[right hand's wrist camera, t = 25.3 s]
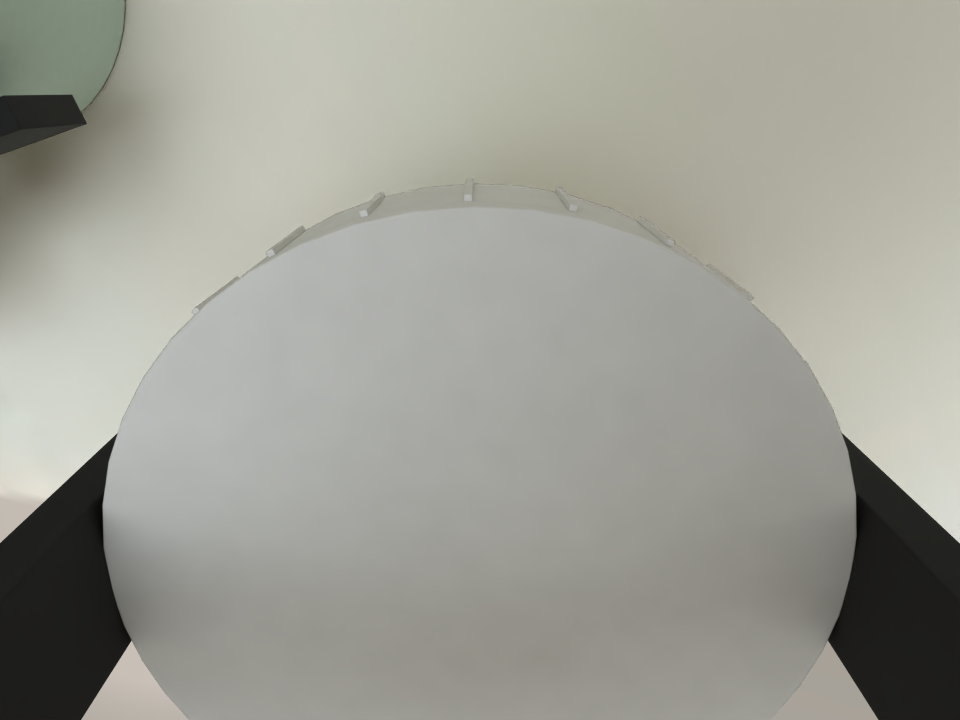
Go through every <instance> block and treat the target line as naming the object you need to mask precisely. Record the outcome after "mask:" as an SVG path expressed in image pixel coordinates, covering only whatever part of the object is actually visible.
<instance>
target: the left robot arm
mask: <svg viewBox="0 0 960 720" xmlns="http://www.w3.org/2000/svg"><path fill="white" fill-rule="evenodd" d="M85 124H87V123H86V121H85V119H84V117H83V115H82V113H81V111H80V109H79V107H78V105H77V103H76V101H75V99H74V97H73V95H3V96H1V97H0V155H1V154H4V153H7V152H10V151H12V150H15V149H18V148H21V147H23V146H26V145H29V144H32V143H35V142H37V141H40V140H43V139H46V138H48V137H51V136H54V135H57V134H60V133H62V132H65V131H68V130H71V129H73V128H76V127H79V126H82V125H85Z"/></svg>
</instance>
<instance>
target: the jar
mask: <svg viewBox="0 0 960 720" xmlns="http://www.w3.org/2000/svg"><path fill="white" fill-rule="evenodd" d="M124 11H125V0H0V97H1V96H3V95H73V97H74V99H75V101H76V103H77V105H78V107H79V109H80V111H81V112H82V111H83V110H84V109H85V108H86V107H87V106H88V105H89V104H90V103H91V102H92V100H93V99H94V98H95V96H96V95H97V94H98V93H99V91H100V90H101V89H102V87H103V85H104V83H105V81H106V80H107V78H108V76H109V74H110V72H111V70H112V68H113V65H114V62H115V59H116V57H117V54H118V51H119V47H120V42H121V37H122V32H123V24H124Z"/></svg>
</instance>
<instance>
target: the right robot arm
mask: <svg viewBox="0 0 960 720" xmlns="http://www.w3.org/2000/svg"><path fill="white" fill-rule="evenodd" d="M117 434H118V433H117ZM117 434H116V435H115V436H114V437H113V438H112V439H111V440H110V441H109V442H108V443H107V444H106V445H104V446H103V447H102V448H101V449H100V450H99V451H98V452H97V453H96V454H95V455H94V456H93V457H92V458H91V459H90V460H88V461H87V462H86V463H85V464H84V465H83V466H82V467H81V468H80V469H79V470H78V471H77V472H76V473H75V474H74V475H72V476H71V477H70V478H69V479H68V480H67V481H66V482H65V483H64V484H63V485H62V486H61V487H60V488H59V489H58V490H56V491H55V492H54V493H53V494H52V495H51V496H50V497H49V498H48V499H47V500H46V501H45V502H44V503H43V504H41V505H40V506H39V507H38V508H37V509H36V510H35V511H34V512H33V513H32V514H31V515H30V516H29V517H28V518H27V519H26V520H24V521H23V522H22V523H21V524H20V525H19V526H18V527H17V528H16V529H15V530H14V531H13V532H12V533H11V534H9V535H8V536H7V537H6V538H5V539H4V540H3V541H2V542H1V543H0V720H81V719H82V717H83V716H84V714H85V713H86V711H87V710H88V708H89V706H90V705H91V703H92V702H93V700H94V699H95V697H96V695H97V694H98V692H99V691H100V689H101V688H102V686H103V684H104V683H105V681H106V680H107V678H108V677H109V675H110V673H111V672H112V670H113V669H114V667H115V666H116V664H117V662H118V661H119V659H120V658H121V656H122V655H123V653H124V651H125V650H126V648H127V647H128V645H129V644H130V642H131V638H130V636H129V634H128V632H127V630H126V628H125V626H124V624H123V621H122V618H121V615H120V612H119V609H118V606H117V603H116V599H115V596H114V592H113V588H112V584H111V580H110V575H109V571H108V566H107V562H106V558H105V552H104V545H103V499H104V492H105V485H106V478H107V471H108V464H109V459H110V456H111V453H112V450H113V447H114V443H115V440H116V437H117ZM842 436H843V439H844V441H845V444H846V447H847V450H848V454H849V459H850V465H851V470H852V476H853V481H854V487H855V492H856V529H857V538H856V545H855V552H854V559H853V563H852V568H851V573H850V577H849V581H848V585H847V589H846V593H845V597H844V601H843V604H842V608H841V611H840V615H839V617H838V619H837V621H836V624H835V626H834V628H833V630H832V632H831V634H830V636H829V638H828V641H829V643H830V644H831V646H832V647H833V649H834V651H835V652H836V654H837V655H838V657H839V658H840V660H841V662H842V663H843V665H844V666H845V668H846V669H847V671H848V673H849V674H850V676H851V677H852V679H853V680H854V682H855V684H856V685H857V687H858V688H859V690H860V691H861V693H862V694H863V696H864V698H865V699H866V701H867V702H868V704H869V706H870V707H871V709H872V710H873V712H874V713H875V715H876V716H877V718H878V720H960V543H959V542H958V541H956V540H955V539H954V538H953V537H952V536H951V535H950V534H949V533H948V532H947V531H946V530H945V529H944V528H943V527H942V526H940V525H939V524H938V523H937V522H936V521H935V520H934V519H933V518H932V517H931V516H930V515H929V514H928V513H927V512H926V511H924V510H923V509H922V508H921V507H920V506H919V505H918V504H917V503H916V502H915V501H914V500H913V499H912V498H911V497H909V496H908V495H907V494H906V493H905V492H904V491H903V490H902V489H901V488H900V487H899V486H898V485H897V484H896V483H895V482H893V481H892V480H891V479H890V478H889V477H888V476H887V475H886V474H885V473H884V472H883V471H882V470H881V469H880V468H879V467H877V466H876V465H875V464H874V463H873V462H872V461H871V460H870V459H869V458H868V457H867V456H866V455H865V454H864V453H863V452H861V451H860V450H859V449H858V448H857V447H856V446H855V445H854V444H853V443H852V442H851V441H850V440H849V439H848V438H847V437H845V436H844V435H843V434H842Z"/></svg>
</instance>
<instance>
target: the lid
mask: <svg viewBox="0 0 960 720" xmlns="http://www.w3.org/2000/svg"><path fill="white" fill-rule="evenodd" d="M674 242H675V241H674V240H672V239H671V238H670V237H668V236H667V235H666V234H664V233H663V232H662V231H660V230H659V229H658V228H656V227H655V226H654V225H652V224H651V223H650V222H648V221H647V220H646V219H644V218H642V217H639V219H638V221H635V220H633V219H631V218H629V217H627V216H625V215H623V214H621V213H619V212H617V211H615V210H613V209H610V208H607V207H604V206H601V205H598V204H595V203H592V202H589V201H586V200H583V199H580V198H577V197H574V196H571V195H568V194H567V193H566V191H565V190H564V189H563V188H558V187H557V188H556V192H552V191H546V190H541V189H536V188H530V187H525V186H514V185H494V184H474V183H473V179H466V184H461V185H450V186H438V187H426V188H421V189H417V190H412V191H408V192H403V193H399V194H394V195H390V196H385V195H384V192H381V193H378V194H377V195H375V196H374V197H373V198H372V199H371V200H370V201H369V202H367V203H364V204H361V205H359V206H356V207H353V208H351V209H348V210H345V211H343V212H340V213H337V214H335V215H333V216H331V217H329V218H327V219H326V220H324V221H322V222H320V223H318V224H316V225H314V226H313V227H311V228H309V229H307V230H305V228H304V227H303V226H301V227H299V228H298V229H296V230H295V231H294V232H292V233H291V234H289V235H288V236H287V237H285V238H284V239H283V240H281V241H280V242H279V243H277V244H276V245H275V246H273V247H272V248H270V249H269V250H268V251H266V254H267V257H266V258H265V259H263V260H262V261H261V262H259V263H258V264H257V265H255V266H254V267H253V268H252V269H250V270H249V271H248V272H246V273H245V274H244V275H242V276H241V277H240V278H239V277H238V276H237V277H235V278H234V279H233V280H231V281H230V282H229V283H227V284H226V285H225V286H223V287H222V288H221V289H219V290H218V291H217V292H215V293H214V294H213V295H211V296H210V297H209V298H207V299H206V300H205V301H203V302H202V303H201V304H199V305H198V306H197V307H195V308H194V310H193V311H192V313H193V314H194V316H193V317H192V318H191V319H190V320H189V321H188V322H187V323H186V324H185V325H184V326H183V327H182V328H181V329H180V330H179V331H178V332H177V333H176V334H175V335H174V336H173V337H172V338H171V340H170V341H169V343H168V344H167V345H166V347H165V348H164V349H163V351H162V352H161V354H160V355H159V356H158V358H157V359H156V360H155V362H154V363H153V365H152V366H151V367H150V369H149V370H148V372H147V373H146V374H145V376H144V377H143V379H142V381H141V383H140V385H139V387H138V389H137V391H136V393H135V395H134V397H133V399H132V401H131V403H130V404H129V406H128V408H127V410H126V412H125V414H124V416H123V418H122V421H121V424H120V427H119V431H118V434H117V437H116V440H115V443H114V447H113V450H112V453H111V456H110V459H109V464H108V471H107V478H106V485H105V492H104V499H103V545H104V552H105V558H106V562H107V566H108V571H109V575H110V580H111V584H112V588H113V592H114V596H115V599H116V603H117V606H118V609H119V612H120V615H121V618H122V621H123V624H124V626H125V628H126V630H127V632H128V634H129V636H130V638H131V640H132V642H133V644H134V646H135V648H136V649H137V652H138V653H139V655H140V657H141V659H142V661H143V662H144V664H145V665H146V667H147V668H148V670H149V671H150V672H151V674H152V675H153V677H154V678H155V680H156V681H157V683H158V684H159V685H160V687H161V688H162V690H163V691H164V693H165V694H166V695H167V696H168V697H169V698H170V699H171V700H172V702H173V703H174V704H175V705H176V706H177V707H178V708H179V709H180V710H181V712H182V713H183V714H184V715H185V716H186V717H187V718H188V719H189V720H770V719H771V718H773V717H774V716H775V715H776V713H777V712H778V711H779V710H780V709H781V708H782V706H783V705H784V704H785V703H786V702H787V700H788V699H789V698H790V697H791V696H792V695H793V693H794V692H795V691H796V690H797V689H798V688H799V686H800V685H801V684H802V682H803V681H804V679H805V678H806V676H807V674H808V673H809V671H810V670H811V668H812V667H813V665H814V664H815V662H816V661H817V659H818V658H819V656H820V654H821V653H822V651H823V649H824V647H825V645H826V643H827V641H828V638H829V636H830V634H831V632H832V630H833V628H834V626H835V624H836V621H837V619H838V617H839V615H840V611H841V608H842V604H843V601H844V597H845V593H846V589H847V585H848V581H849V577H850V573H851V568H852V563H853V559H854V552H855V545H856V538H857V529H856V492H855V487H854V481H853V476H852V470H851V465H850V459H849V454H848V450H847V447H846V444H845V441H844V439H843V436H842V433H841V430H840V427H839V425H838V422H837V419H836V416H835V413H834V411H833V408H832V406H831V405H830V403H829V401H828V399H827V397H826V396H825V394H824V392H823V390H822V388H821V387H820V385H819V383H818V381H817V379H816V378H815V376H814V374H813V372H812V370H811V369H810V367H809V365H808V364H807V362H806V361H805V360H804V359H803V358H802V357H801V356H800V354H799V353H798V352H797V351H796V349H795V348H794V347H793V345H792V344H791V343H790V342H789V340H788V339H787V338H786V337H785V335H784V334H783V333H782V331H781V330H780V329H779V328H778V327H777V326H776V325H775V324H774V323H773V322H772V321H770V320H769V319H768V318H767V317H766V316H765V315H764V314H763V313H762V312H761V311H760V310H759V309H758V308H757V307H755V306H754V305H753V304H752V303H751V302H750V301H751V300H752V299H753V298H754V297H753V296H752V295H751V294H750V293H748V292H747V291H746V290H744V289H743V288H742V287H740V286H739V285H738V284H736V283H735V282H733V281H732V280H731V279H729V278H728V277H727V276H725V275H724V274H723V273H721V272H720V271H719V270H717V269H716V268H715V267H713V266H712V265H710V264H709V265H708V266H707V267H706V266H705V265H703V264H702V263H701V262H699V261H698V260H697V259H696V258H694V257H693V256H692V255H690V254H689V253H687V252H686V251H684V250H683V249H681V248H680V247H679V246H677V245H676V244H674Z"/></svg>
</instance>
